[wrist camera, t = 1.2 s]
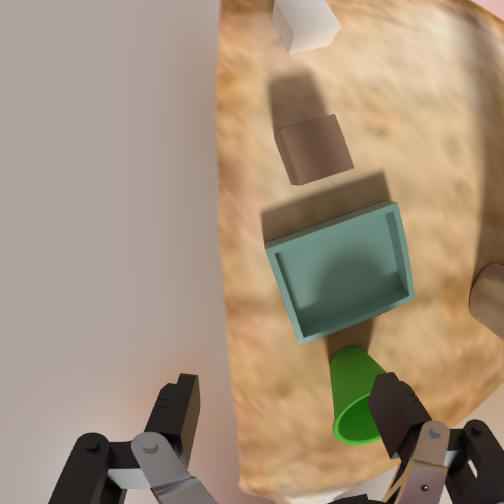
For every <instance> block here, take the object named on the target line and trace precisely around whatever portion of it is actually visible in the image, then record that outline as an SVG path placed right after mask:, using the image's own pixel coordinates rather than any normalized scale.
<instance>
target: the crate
mask: <svg viewBox="0 0 504 504" xmlns="http://www.w3.org/2000/svg"><path fill="white" fill-rule="evenodd" d="M264 246H265V250H266V253H267V256H268V259H269V261H270V264H271V267H272V270H273V273H274V275H275V278H276V281H277V284H278V286H279V289H280V292H281V295H282V298H283V300H284V303H285V306H286V309H287V312H288V314H289V317H290V320H291V323H292V326H293V329H294V331H295V334H296V337H297V340H298V343H299V345H301V344H304V343H307V342H310V341H313V340H316V339H319V338H321V337H324V336H327V335H330V334H332V333H335V332H338V331H340V330H343V329H345V328H348V327H351V326H353V325H356V324H358V323H361V322H363V321H366V320H368V319H370V318H373V317H375V316H378V315H380V314H382V313H385V312H387V311H389V310H392V309H394V308H396V307H398V306H400V305H403V304H405V303H407V302H409V301H411V300H414V299H415V295H414V287H413V280H412V273H411V266H410V260H409V255H408V249H407V244H406V238H405V234H404V229H403V224H402V220H401V215H400V211H399V207H398V203H397V202H392V201H387V200H384V201H381V202H379V203H376V204H373V205H370V206H367V207H364V208H361V209H358V210H356V211H353V212H350V213H347V214H344V215H341V216H338V217H336V218H333V219H330V220H327V221H324V222H321V223H319V224H316V225H313V226H310V227H307V228H304V229H301V230H299V231H296V232H293V233H290V234H287V235H284V236H282V237H279V238H276V239H273V240H270V241H268V242H265V243H264Z"/></svg>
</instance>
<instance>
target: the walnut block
mask: <svg viewBox="0 0 504 504" xmlns="http://www.w3.org/2000/svg"><path fill="white" fill-rule="evenodd" d="M275 142H276V144H277V147H278V150H279V152H280V155H281V158H282V160H283V163H284V166H285V169H286V171H287V174H288V177H289V180H290V183H291V185H304V184H307V183H310V182H313V181H316V180H319V179H322V178H325V177H328V176H331V175H334V174H337V173H340V172H344V171H347V170H350V169H353V168H354V166H353V163H352V160H351V157H350V154H349V151H348V148H347V145H346V142H345V140H344V137H343V134H342V131H341V129H340V126H339V124H338V121H337V118H336V116H335V114H332V115H328V116H324V117H321V118H317V119H313V120H310V121H306V122H303V123H300V124H296V125H293V126H290V127H286V128H283V129H280V131H279V132H278V134H277V136H276V138H275Z"/></svg>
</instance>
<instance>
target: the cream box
mask: <svg viewBox="0 0 504 504" xmlns="http://www.w3.org/2000/svg"><path fill="white" fill-rule="evenodd" d="M272 23H273V25H274V27H275V29H276V30H277V32H278V34H279V36H280V38H281V40H282V42H283V44H284V46H285V48H286V50H287V52H288V54H291V53H296V52H300V51H305V50H310V49H315V48H320V47H326V46H329V45H330V44H331V42H332V41H333V39H334V37H335V36H336V34H337V32H338V31H339V29H340V28H341V26H340V24H339V22H338V21H337V19H336V17H335V16H334V14H333V12H332V11H331V9H330V7H329V6H328V4H327V2H326V1H325V0H274V8H273V15H272Z"/></svg>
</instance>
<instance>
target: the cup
mask: <svg viewBox="0 0 504 504" xmlns="http://www.w3.org/2000/svg"><path fill="white" fill-rule="evenodd" d="M381 373H387V372H386V371H385V370H384V369H383V368H382V367H380V366H379V365H378V364H377V363H376V362H375V361H374V360H373V359H372V358H371V357H370V356H369V355H368V354H367V353H366V352H365V351H364V350H363V349H361V348H358V347H347V348H344V349H342V350H340V351H339V352H338V353H336V354H335V356H334V357H333V359H332V360H331V363H330V376H331V385H332V394H333V405H334V416H335V420H334V423H333V434H334V436H335V437H336V438H337V439H338V440H339V441H341V442H343V443H346V444H351V445H360V444H366V443H371V442H374V441H376V440H379V439H381V436H380V434H379V431H378V429H377V427H376V425H375V422H374V420H373V418H372V416H371V413H370V411H369V408H368V399H369V396H370V393H371V390H372V387H373V384H374V381H375V378H376V376H377V375H378V374H381Z"/></svg>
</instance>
